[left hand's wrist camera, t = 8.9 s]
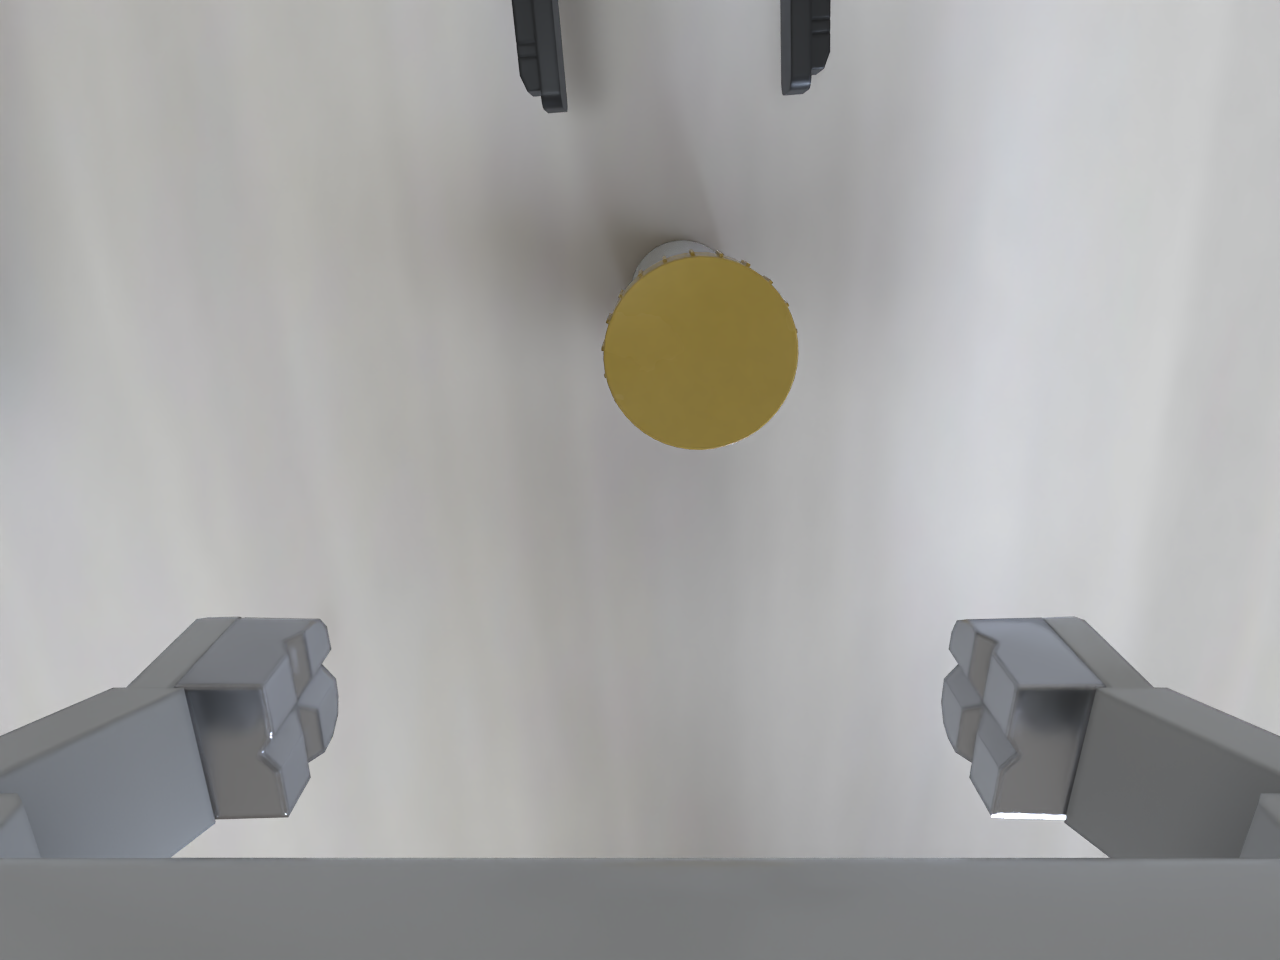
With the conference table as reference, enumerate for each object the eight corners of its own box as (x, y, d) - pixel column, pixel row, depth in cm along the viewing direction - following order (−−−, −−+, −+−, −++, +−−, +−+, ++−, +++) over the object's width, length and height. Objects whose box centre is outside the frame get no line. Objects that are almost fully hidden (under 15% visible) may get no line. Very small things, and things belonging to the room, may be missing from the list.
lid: (677, 209, 23) (678, 209, 21) (827, 324, 24) (842, 334, 22) (568, 365, 24) (561, 378, 22) (715, 467, 25) (720, 488, 23)
